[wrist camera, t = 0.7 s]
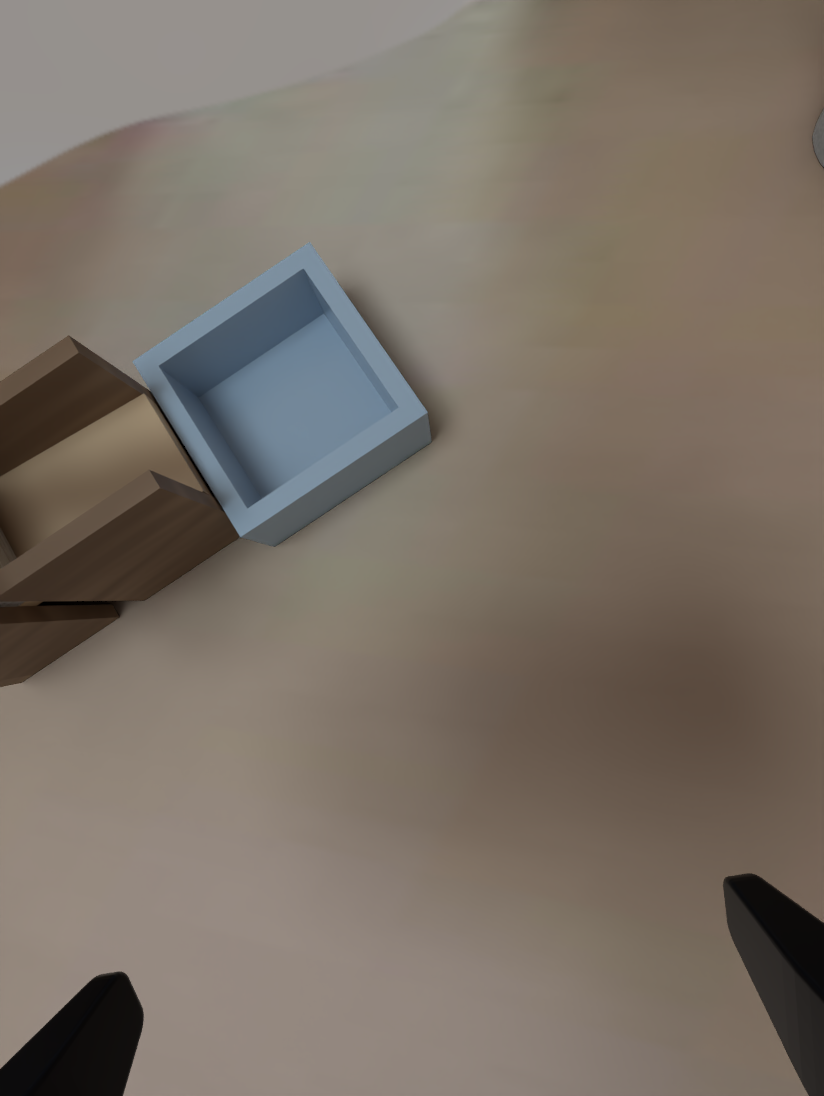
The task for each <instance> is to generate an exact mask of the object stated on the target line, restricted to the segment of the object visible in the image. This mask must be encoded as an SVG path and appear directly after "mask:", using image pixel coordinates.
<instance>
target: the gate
mask: <svg viewBox="0 0 824 1096" xmlns="http://www.w3.org/2000/svg"><path fill="white" fill-rule="evenodd" d="M15 559H16V556H15V554H14V552H13V550H12V548H11V547H10V545H9V543H8V541H7V539H6V537H5V536H4V534H3V532H2V530H1V528H0V569H1V568H3V567H4V566H6V565H7V564H9V563H10V562H12V561H13V560H15ZM22 603H24V602H0V607H18V606H19V605H21V604H22Z"/></svg>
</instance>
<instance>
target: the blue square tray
mask: <svg viewBox="0 0 824 1096" xmlns="http://www.w3.org/2000/svg"><path fill="white" fill-rule="evenodd" d="M133 363H134V365H135V366H136V368H137V369H138V371H139V373H140V374H141V376H142V378H143V379H144V381H145V382H146V384H147V386H148V387H149V389H150V391H151V392H152V394H153V396H154V397H155V399H156V400H157V402H158V404H159V405H160V407H161V409H162V410H163V412H164V413H165V415H166V417H167V418H168V420H169V422H170V423H171V425H172V426H173V428H174V430H175V431H176V433H177V435H178V436H179V438H180V439H181V441H182V443H183V444H184V446H185V448H186V449H187V451H188V453H189V454H190V456H191V457H192V459H193V461H194V462H195V464H196V466H197V467H198V469H199V470H200V472H201V474H202V475H203V477H204V479H205V480H206V482H207V483H208V485H209V487H210V488H211V490H212V492H213V493H214V495H215V497H216V498H217V500H218V501H219V503H220V505H221V506H222V508H223V510H224V511H225V513H226V514H227V516H228V518H229V519H230V521H231V523H232V524H233V526H234V527H235V529H236V531H237V532H238V534H239V536H240V537H241V538H245V539H248V540H252V541H255V542H259V543H262V544H266V545H269V546H273V547H275V546H277V545H278V544H280V543H281V542H283V541H284V540H286V539H287V538H289V537H290V536H292V535H293V534H295V533H296V532H298V531H299V530H301V529H302V528H304V527H305V526H307V525H308V524H310V523H311V522H313V521H314V520H316V519H317V518H319V517H320V516H322V515H323V514H325V513H326V512H328V511H329V510H331V509H332V508H334V507H335V506H337V505H338V504H340V503H341V502H343V501H344V500H346V499H347V498H349V497H350V496H352V495H353V494H355V493H356V492H358V491H359V490H361V489H362V488H364V487H365V486H367V485H368V484H370V483H371V482H373V481H374V480H376V479H377V478H379V477H380V476H382V475H383V474H385V473H386V472H388V471H389V470H391V469H392V468H394V467H395V466H397V465H398V464H400V463H401V462H403V461H404V460H406V459H407V458H409V457H410V456H412V455H413V454H415V453H416V452H418V451H419V450H421V449H422V448H424V447H425V446H427V445H428V444H430V443H431V442H432V441H431V433H430V426H429V418H428V412H427V411H426V409H425V408H424V406H423V405H422V403H421V402H420V401H419V399H418V398H417V396H416V395H415V393H414V392H413V390H412V389H411V388H410V386H409V385H408V383H407V382H406V380H405V379H404V377H403V376H402V375H401V373H400V372H399V370H398V369H397V367H396V366H395V364H394V363H393V362H392V360H391V359H390V357H389V356H388V354H387V353H386V351H385V350H384V349H383V347H382V346H381V344H380V343H379V341H378V340H377V338H376V337H375V336H374V334H373V333H372V331H371V330H370V328H369V327H368V325H367V324H366V323H365V321H364V320H363V318H362V317H361V315H360V314H359V313H358V311H357V310H356V308H355V307H354V305H353V304H352V302H351V301H350V300H349V298H348V297H347V295H346V294H345V292H344V291H343V289H342V288H341V287H340V285H339V284H338V282H337V281H336V279H335V278H334V276H333V275H332V274H331V272H330V271H329V269H328V268H327V266H326V265H325V263H324V262H323V261H322V259H321V258H320V256H319V255H318V253H317V252H316V250H315V249H314V248H313V246H312V245H311V243H310V242H309V243H307V244H306V245H304V246H303V247H301V248H300V249H298V250H297V251H295V252H294V253H293V254H291V255H290V256H288V257H287V258H285V259H284V260H282V261H281V262H279V263H278V264H276V265H275V266H273V267H272V268H270V269H269V270H267V271H266V272H264V273H263V274H261V275H260V276H258V277H257V278H255V279H254V280H252V281H251V282H249V283H248V284H247V285H245V286H244V287H242V288H241V289H239V290H238V291H236V292H235V293H233V294H232V295H230V296H229V297H227V298H226V299H224V300H223V301H221V302H220V303H218V304H217V305H215V306H214V307H212V308H211V309H209V310H208V311H206V312H205V313H203V314H202V315H201V316H199V317H198V318H196V319H195V320H193V321H192V322H190V323H189V324H187V325H186V326H184V327H183V328H181V329H180V330H178V331H177V332H175V333H174V334H172V335H171V336H169V337H168V338H166V339H165V340H163V341H162V342H160V343H159V344H158V345H156V346H155V347H153V348H152V349H150V350H149V351H147V352H146V353H144V354H143V355H141V356H140V357H138V358H137V359H135V360H134V361H133Z"/></svg>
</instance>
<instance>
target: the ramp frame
mask: <svg viewBox="0 0 824 1096" xmlns="http://www.w3.org/2000/svg"><path fill="white" fill-rule="evenodd" d="M182 445H183V443H182V441H181V439H180V438H179V436H178V435H177V433H176V431H175V430H174V428H173V426H172V425H171V423H170V422H169V420H168V418H167V417H166V415H165V413H164V412H163V410H162V409H161V407H160V405H159V404H158V402H157V400H156V399H155V397H154V396H153V394H152V392H151V391H149V390H148V389H146V388H145V387H143V386H142V385H140V384H139V383H138V382H136V381H135V380H133V379H132V378H130V377H129V376H127V375H126V374H124V373H123V372H121V371H120V370H119V369H117V368H116V367H114V366H113V365H111V364H110V363H108V362H107V361H105V360H104V359H102V358H101V357H99V356H98V355H97V354H95V353H94V352H92V351H91V350H89V349H88V348H86V347H85V346H83V345H82V344H80V343H79V342H78V341H76V340H75V339H73V338H72V337H70V336H69V335H68V336H67V337H66V338H64V339H63V340H61V341H60V342H58V343H57V344H55V345H54V346H52V347H51V348H49V349H48V350H46V351H45V352H43V353H42V354H40V355H39V356H37V357H36V358H34V359H33V360H32V361H30V362H29V363H27V364H26V365H24V366H23V367H21V368H20V369H18V370H17V371H15V372H14V373H12V374H11V375H9V376H8V377H6V378H5V379H3V380H2V381H0V528H1V530H2V532H3V534H4V536H5V537H6V539H7V541H8V543H9V545H10V547H11V548H12V550H13V552H14V554H15V556H16V559H15V560H13V561H12V562H10V563H9V564H7V565H6V566H4V567H3V568H1V569H0V602H24V603H22V604H21V605H19V606H18V607H0V687H3V686H8V685H13V684H18V683H22V682H23V681H25V680H26V679H28V678H29V677H31V676H32V675H34V674H35V673H37V672H38V671H40V670H41V669H43V668H44V667H46V666H47V665H49V664H50V663H52V662H53V661H55V660H56V659H58V658H59V657H61V656H62V655H64V654H65V653H67V652H68V651H70V650H71V649H73V648H74V647H76V646H77V645H79V644H80V643H82V642H83V641H85V640H86V639H88V638H89V637H91V636H92V635H94V634H95V633H97V632H98V631H100V630H101V629H103V628H104V627H106V626H107V625H109V624H110V623H112V622H113V621H115V620H116V619H118V618H119V616H118V614H117V612H116V610H115V609H114V607H113V605H112V604H111V605H60V606H37V605H38V604H40V603H42V602H43V601H145V600H146V599H148V598H149V597H151V596H152V595H154V594H155V593H157V592H158V591H160V590H161V589H163V588H164V587H166V586H167V585H169V584H170V583H172V582H173V581H175V580H176V579H178V578H179V577H181V576H182V575H184V574H185V573H187V572H188V571H190V570H191V569H193V568H194V567H196V566H197V565H199V564H200V563H202V562H203V561H205V560H206V559H208V558H209V557H211V556H212V555H213V554H215V553H216V552H218V551H219V550H221V549H222V548H224V547H225V546H227V545H228V544H230V543H231V542H233V541H234V540H236V539H237V538H239V537H240V536H239V534H238V532H237V531H236V529H235V527H234V526H233V524H232V523H231V521H230V519H229V518H228V516H227V514H226V513H225V511H224V510H223V508H222V506H221V505H220V503H219V501H218V500H217V498H215V497H213V496H212V494H211V493H210V491H209V489H208V488H207V486H206V484H205V483H204V481H203V480H202V478H201V476H200V475H199V473H198V471H197V470H196V468H195V466H194V465H193V463H192V462H191V460H190V458H189V457H188V455H187V453H186V452H185V450H184V449H183V447H182Z"/></svg>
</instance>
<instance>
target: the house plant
mask: <svg viewBox="0 0 824 1096" xmlns="http://www.w3.org/2000/svg"><path fill="white" fill-rule="evenodd" d="M812 139H813V145H814V151H815V153H816V155H817V158H818V160H819V162H820V164H821V165H822V166H823V167H824V109H823V111H822V112H821V115H820V117H819V119H818V121H817V123H816V126H815V129H814V133H813V136H812Z"/></svg>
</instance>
